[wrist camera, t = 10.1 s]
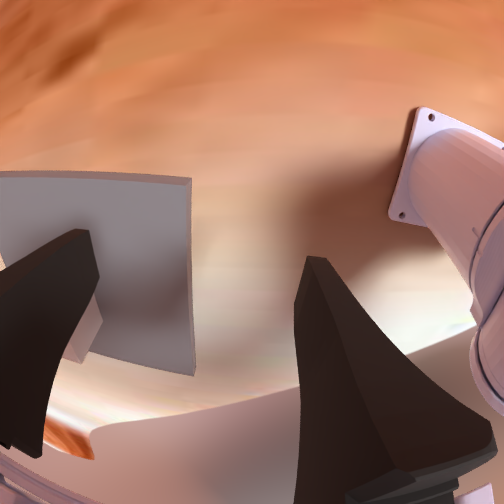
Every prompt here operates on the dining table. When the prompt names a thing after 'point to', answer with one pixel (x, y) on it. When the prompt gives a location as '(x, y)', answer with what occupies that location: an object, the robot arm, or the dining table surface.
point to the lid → (115, 257)
